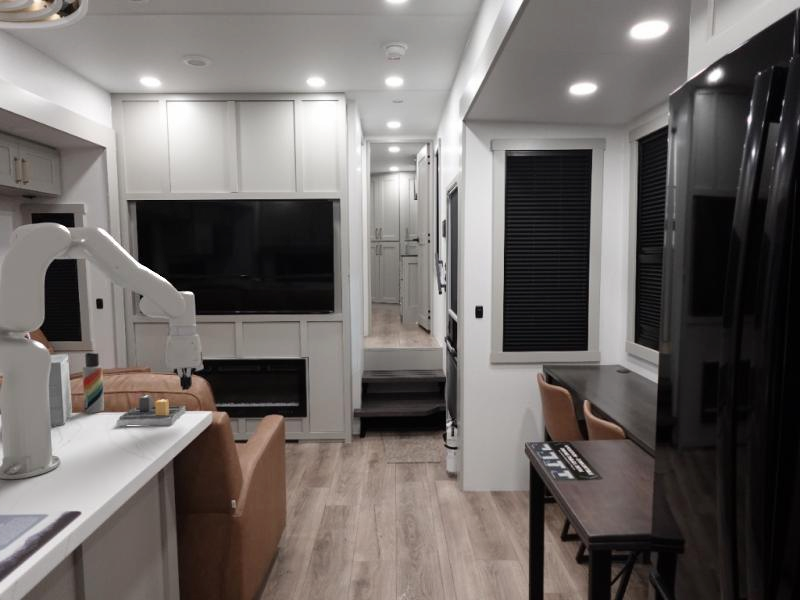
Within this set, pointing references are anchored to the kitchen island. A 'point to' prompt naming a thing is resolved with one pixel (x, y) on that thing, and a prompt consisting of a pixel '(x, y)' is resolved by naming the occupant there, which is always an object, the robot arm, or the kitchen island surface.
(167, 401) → the fader
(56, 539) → the kitchen island surface
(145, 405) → the fader
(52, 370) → the hard drive box
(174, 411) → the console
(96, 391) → the lotion bottle
